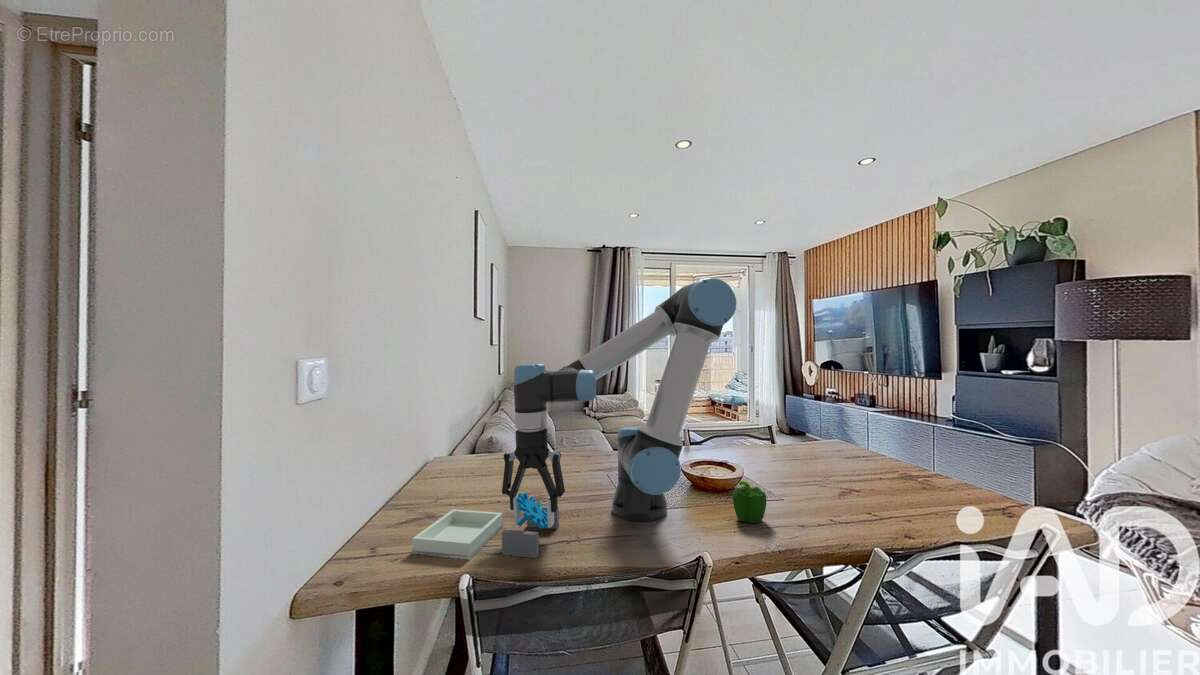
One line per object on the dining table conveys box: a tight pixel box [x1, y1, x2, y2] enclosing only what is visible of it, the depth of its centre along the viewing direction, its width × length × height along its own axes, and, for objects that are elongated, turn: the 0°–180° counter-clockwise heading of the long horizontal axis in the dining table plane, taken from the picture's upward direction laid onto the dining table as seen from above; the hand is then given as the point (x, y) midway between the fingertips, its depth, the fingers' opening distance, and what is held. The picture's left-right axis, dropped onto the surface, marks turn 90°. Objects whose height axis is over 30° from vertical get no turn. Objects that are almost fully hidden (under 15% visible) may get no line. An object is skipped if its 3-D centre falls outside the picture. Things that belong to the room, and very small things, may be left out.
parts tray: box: [411, 509, 504, 561], centre depth 105 cm, size 14×17×4 cm
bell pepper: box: [732, 480, 767, 524], centre depth 114 cm, size 8×8×10 cm
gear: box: [516, 492, 548, 530], centre depth 104 cm, size 11×6×10 cm
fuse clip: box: [501, 505, 560, 559], centre depth 104 cm, size 8×16×5 cm, turn 168°
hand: (534, 524), depth 104 cm, fingers closed on gear, 8 cm apart
